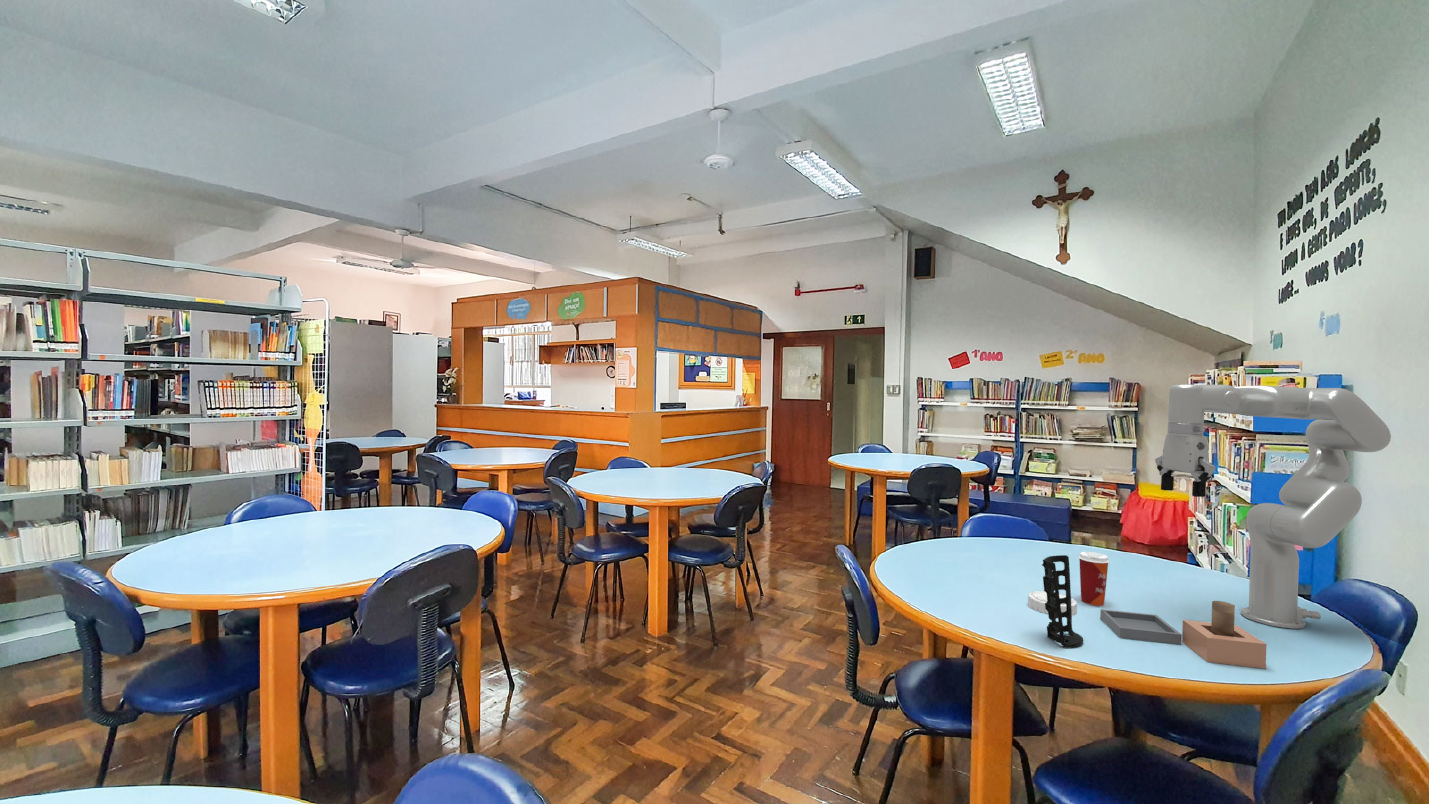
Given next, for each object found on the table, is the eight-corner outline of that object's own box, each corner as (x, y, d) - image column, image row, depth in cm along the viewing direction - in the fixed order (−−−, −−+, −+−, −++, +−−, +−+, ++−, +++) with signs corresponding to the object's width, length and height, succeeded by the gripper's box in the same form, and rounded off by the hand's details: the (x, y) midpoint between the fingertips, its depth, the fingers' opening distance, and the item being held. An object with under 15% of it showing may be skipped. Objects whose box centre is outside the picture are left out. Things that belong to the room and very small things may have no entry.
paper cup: (1107, 609, 163) (1108, 560, 163) (1075, 603, 168) (1076, 555, 168) (1109, 601, 169) (1110, 554, 169) (1078, 595, 174) (1079, 549, 174)
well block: (1235, 647, 139) (1236, 625, 139) (1265, 668, 128) (1266, 644, 128) (1182, 641, 142) (1182, 619, 142) (1206, 661, 131) (1207, 637, 131)
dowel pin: (1227, 652, 137) (1228, 601, 136) (1237, 659, 133) (1238, 607, 133) (1206, 650, 138) (1208, 600, 138) (1216, 657, 134) (1218, 605, 134)
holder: (1083, 651, 135) (1076, 565, 136) (1046, 646, 139) (1039, 562, 140) (1083, 635, 144) (1076, 555, 145) (1048, 631, 148) (1041, 553, 149)
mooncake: (1081, 620, 156) (1082, 606, 156) (1031, 613, 160) (1031, 600, 160) (1071, 604, 167) (1071, 592, 167) (1024, 599, 171) (1025, 587, 171)
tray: (1156, 624, 153) (1156, 615, 153) (1181, 644, 140) (1181, 634, 140) (1100, 618, 156) (1100, 609, 156) (1119, 637, 144) (1120, 627, 144)
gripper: (1229, 432, 147) (1225, 499, 148) (1170, 428, 165) (1168, 488, 165) (1201, 432, 147) (1198, 499, 147) (1146, 427, 164) (1143, 487, 164)
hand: (1182, 493), depth 156 cm, fingers open, 9 cm apart
